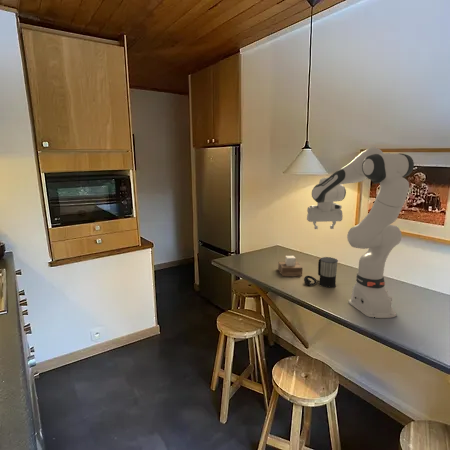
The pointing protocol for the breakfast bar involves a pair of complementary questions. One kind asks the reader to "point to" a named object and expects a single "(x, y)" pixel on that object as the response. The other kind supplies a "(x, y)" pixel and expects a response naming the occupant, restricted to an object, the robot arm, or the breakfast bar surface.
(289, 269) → the walnut base
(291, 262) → the cube
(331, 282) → the milk frother
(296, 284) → the breakfast bar surface
